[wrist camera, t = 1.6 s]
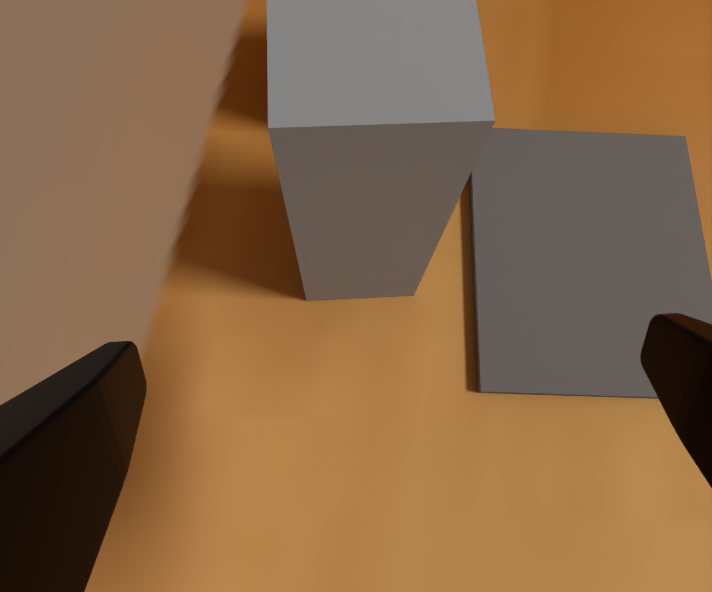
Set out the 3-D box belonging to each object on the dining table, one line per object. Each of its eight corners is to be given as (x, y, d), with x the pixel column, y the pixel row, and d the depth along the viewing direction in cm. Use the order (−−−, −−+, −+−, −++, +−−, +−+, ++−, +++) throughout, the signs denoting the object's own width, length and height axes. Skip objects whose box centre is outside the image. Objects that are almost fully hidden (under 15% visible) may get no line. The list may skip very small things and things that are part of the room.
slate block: (413, 295, 22) (495, 120, 10) (306, 300, 22) (267, 128, 10) (404, 199, 23) (467, -52, 12) (303, 203, 23) (266, -49, 11)
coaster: (725, 400, 21) (732, 399, 20) (478, 392, 21) (480, 391, 20) (679, 141, 24) (685, 136, 24) (468, 132, 24) (470, 127, 24)
